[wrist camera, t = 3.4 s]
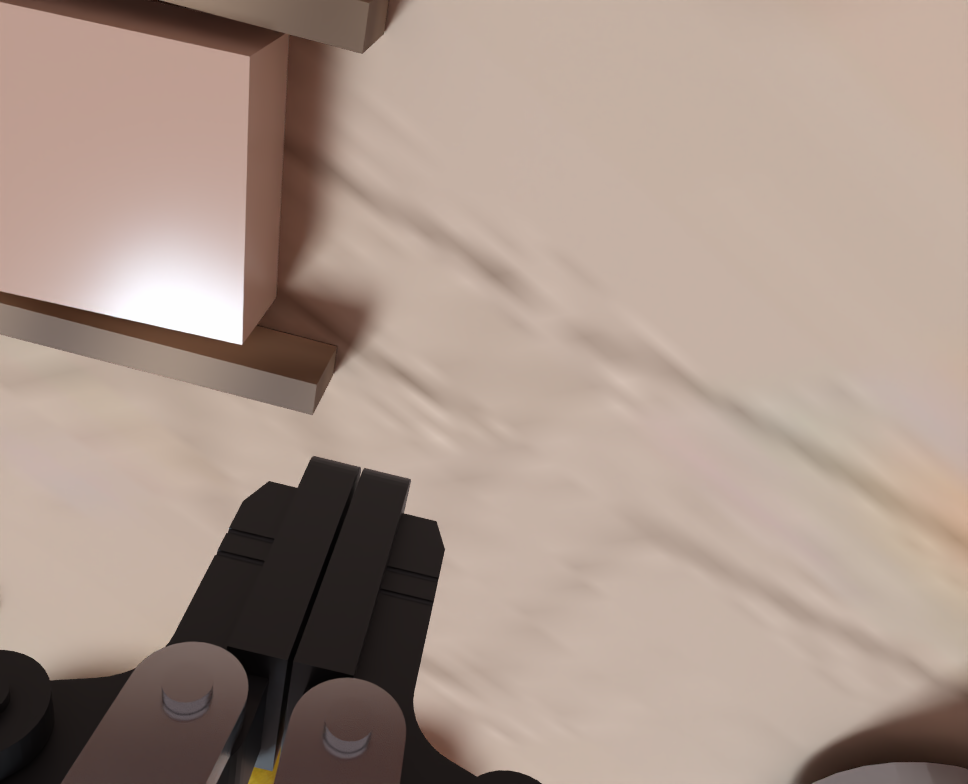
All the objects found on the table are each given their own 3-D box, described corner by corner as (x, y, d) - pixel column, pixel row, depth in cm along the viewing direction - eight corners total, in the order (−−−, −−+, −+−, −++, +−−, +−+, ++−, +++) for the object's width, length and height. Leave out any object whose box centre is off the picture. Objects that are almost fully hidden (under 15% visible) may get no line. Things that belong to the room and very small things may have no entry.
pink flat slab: (294, 27, 21) (249, 56, 18) (281, 291, 24) (242, 344, 22) (-204, -82, 21) (-318, -68, 18) (-139, 197, 25) (-225, 240, 22)
